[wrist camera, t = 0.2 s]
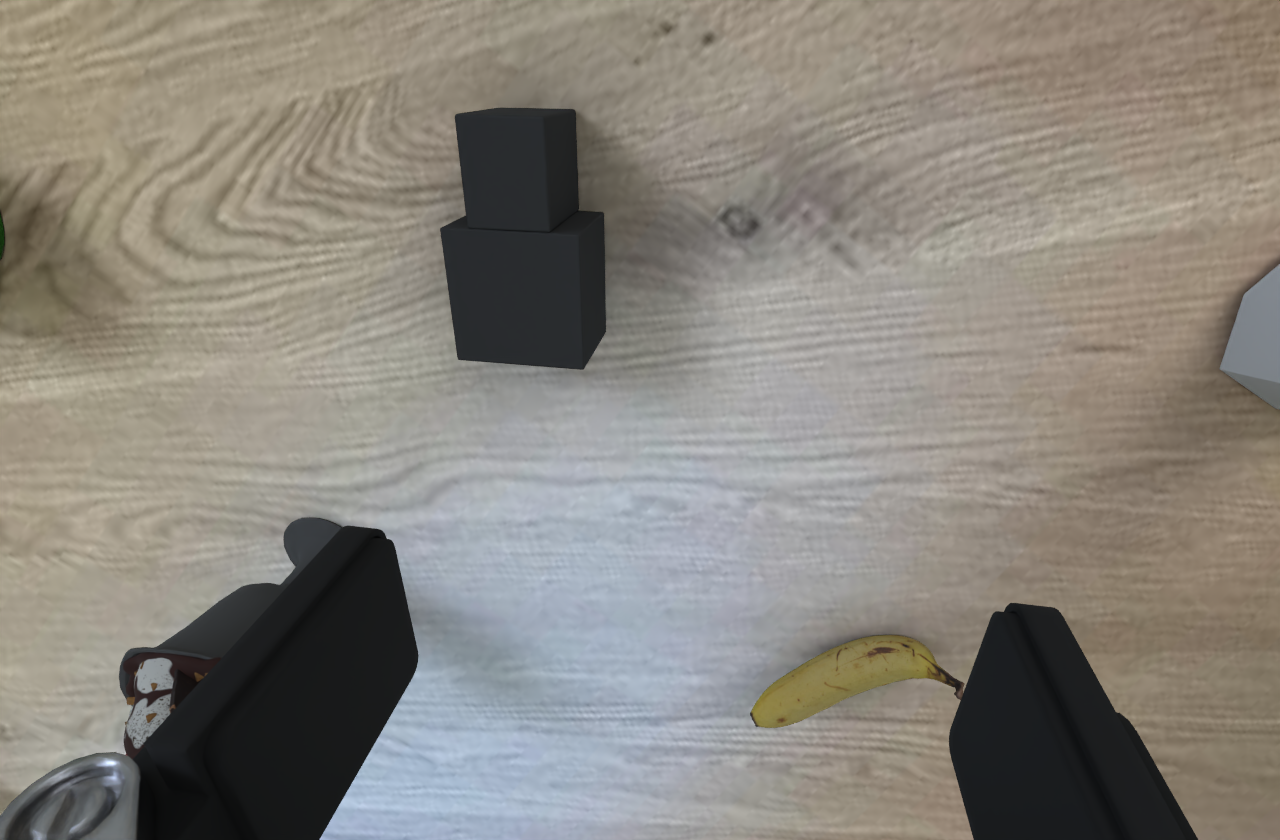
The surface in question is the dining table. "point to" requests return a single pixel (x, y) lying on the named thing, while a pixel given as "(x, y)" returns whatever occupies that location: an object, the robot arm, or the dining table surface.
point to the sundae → (205, 641)
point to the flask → (1257, 341)
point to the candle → (1, 237)
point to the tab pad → (524, 243)
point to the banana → (846, 677)
